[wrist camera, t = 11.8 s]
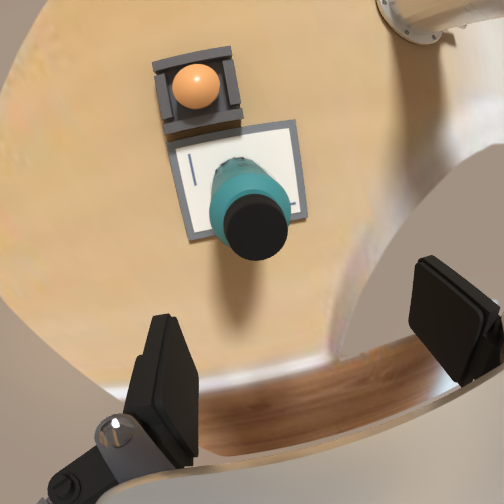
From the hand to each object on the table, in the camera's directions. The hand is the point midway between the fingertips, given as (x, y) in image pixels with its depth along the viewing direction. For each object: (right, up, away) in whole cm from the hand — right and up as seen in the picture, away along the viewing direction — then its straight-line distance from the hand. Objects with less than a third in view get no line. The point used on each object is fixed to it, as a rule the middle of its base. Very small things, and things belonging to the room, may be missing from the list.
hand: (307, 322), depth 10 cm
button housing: (-8, +22, +23) cm, 32 cm away
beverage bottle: (-4, +11, +27) cm, 29 cm away
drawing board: (-3, +12, +28) cm, 30 cm away
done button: (-8, +21, +20) cm, 30 cm away
